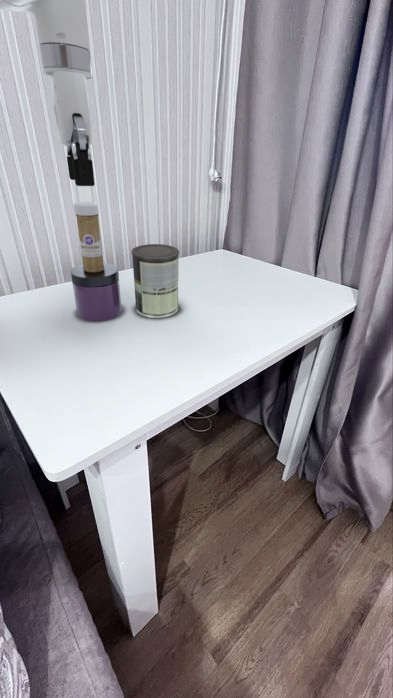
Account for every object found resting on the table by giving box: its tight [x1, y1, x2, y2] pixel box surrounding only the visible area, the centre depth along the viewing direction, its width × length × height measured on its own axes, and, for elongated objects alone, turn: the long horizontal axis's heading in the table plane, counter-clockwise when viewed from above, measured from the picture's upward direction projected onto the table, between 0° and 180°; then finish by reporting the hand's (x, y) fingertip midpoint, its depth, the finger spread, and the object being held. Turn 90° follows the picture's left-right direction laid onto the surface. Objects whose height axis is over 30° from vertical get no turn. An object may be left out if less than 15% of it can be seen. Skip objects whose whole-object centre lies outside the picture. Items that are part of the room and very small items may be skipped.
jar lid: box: [69, 262, 120, 287], centre depth 72 cm, size 10×10×2 cm
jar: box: [71, 277, 123, 322], centre depth 75 cm, size 10×10×10 cm
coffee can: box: [131, 243, 180, 319], centre depth 76 cm, size 10×10×14 cm
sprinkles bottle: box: [73, 201, 105, 273], centre depth 68 cm, size 5×5×13 cm
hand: (81, 182), depth 62 cm, fingers open, 9 cm apart
